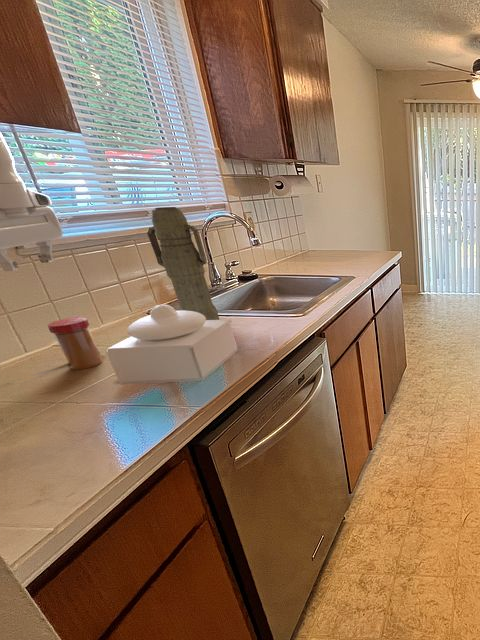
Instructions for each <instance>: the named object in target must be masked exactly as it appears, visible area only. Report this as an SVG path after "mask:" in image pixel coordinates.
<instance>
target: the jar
mask: <svg viewBox="0 0 480 640" xmlns="http://www.w3.org/2000/svg"><path fill="white" fill-rule="evenodd" d="M53 334H54V337H55V339H56V341H57V343H58V345H59V347H60V349H61V352H62V353H63V356H64V358H65V360H66V362H67V363H68V366H69V368H70V369H71V370H85V369H89V368H93V367H96V366H99V365H100V364H102V363H103V362H104V359H103V358H102V355H101V353H100V351H99V348H98V346H97V344H96V342H95V340H94V337H93V335H92V333H91V330H90V328H89V326H88V327H86V328H84V329H81V330H78V331H73V332H68V333H57V334H56V333H53Z"/></svg>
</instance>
